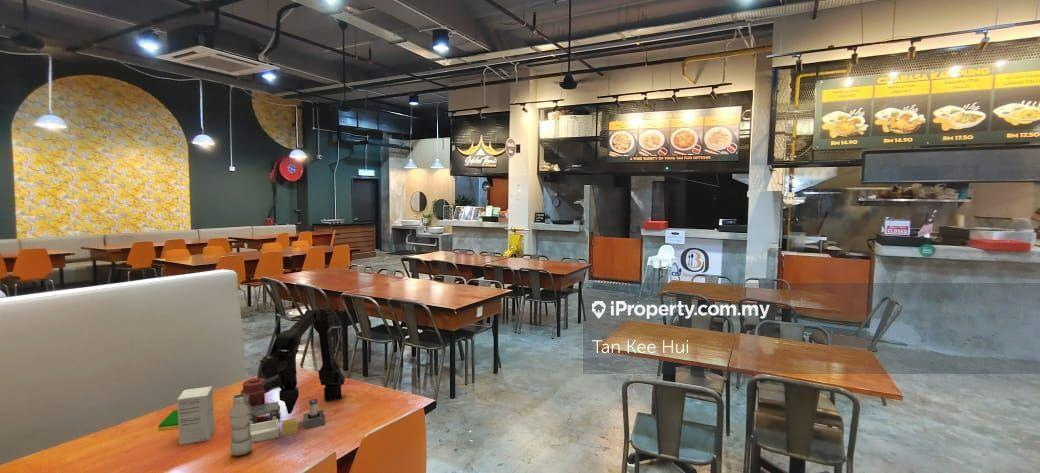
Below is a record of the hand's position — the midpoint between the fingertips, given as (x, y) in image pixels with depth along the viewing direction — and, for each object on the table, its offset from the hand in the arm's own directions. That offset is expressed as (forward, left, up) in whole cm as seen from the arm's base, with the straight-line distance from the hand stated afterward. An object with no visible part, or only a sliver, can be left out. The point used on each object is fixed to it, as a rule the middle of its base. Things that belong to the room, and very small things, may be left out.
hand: (289, 408), depth 175 cm
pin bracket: (-8, -3, -9) cm, 12 cm away
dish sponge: (+39, -30, -9) cm, 50 cm away
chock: (0, 0, -9) cm, 9 cm away
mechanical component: (+12, -29, -9) cm, 33 cm away
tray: (+10, -1, -9) cm, 13 cm away
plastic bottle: (+15, +10, -9) cm, 20 cm away
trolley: (+9, -15, -9) cm, 20 cm away
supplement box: (+30, -11, -9) cm, 33 cm away
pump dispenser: (+7, -53, -9) cm, 55 cm away
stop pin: (-8, -3, -9) cm, 12 cm away
